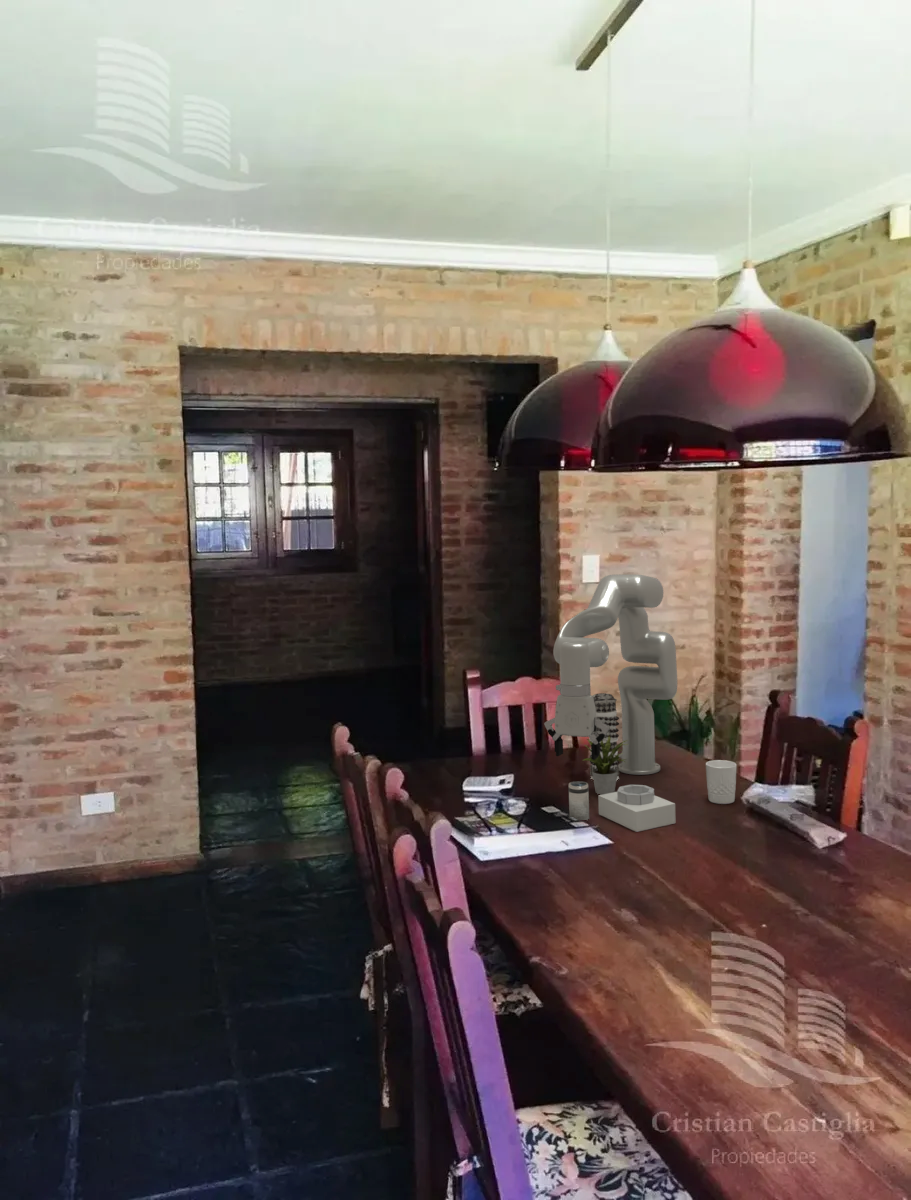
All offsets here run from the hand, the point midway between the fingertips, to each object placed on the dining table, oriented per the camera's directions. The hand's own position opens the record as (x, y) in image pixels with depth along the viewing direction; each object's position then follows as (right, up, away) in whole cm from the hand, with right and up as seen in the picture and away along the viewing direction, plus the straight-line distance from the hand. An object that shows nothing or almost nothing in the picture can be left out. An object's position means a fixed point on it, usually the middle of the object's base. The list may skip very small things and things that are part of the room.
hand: (577, 756), depth 235 cm
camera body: (+15, -16, 0) cm, 22 cm away
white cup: (+40, -14, +12) cm, 44 cm away
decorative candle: (+13, -13, +36) cm, 41 cm away
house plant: (+11, -14, +21) cm, 28 cm away
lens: (+1, -16, +2) cm, 16 cm away
